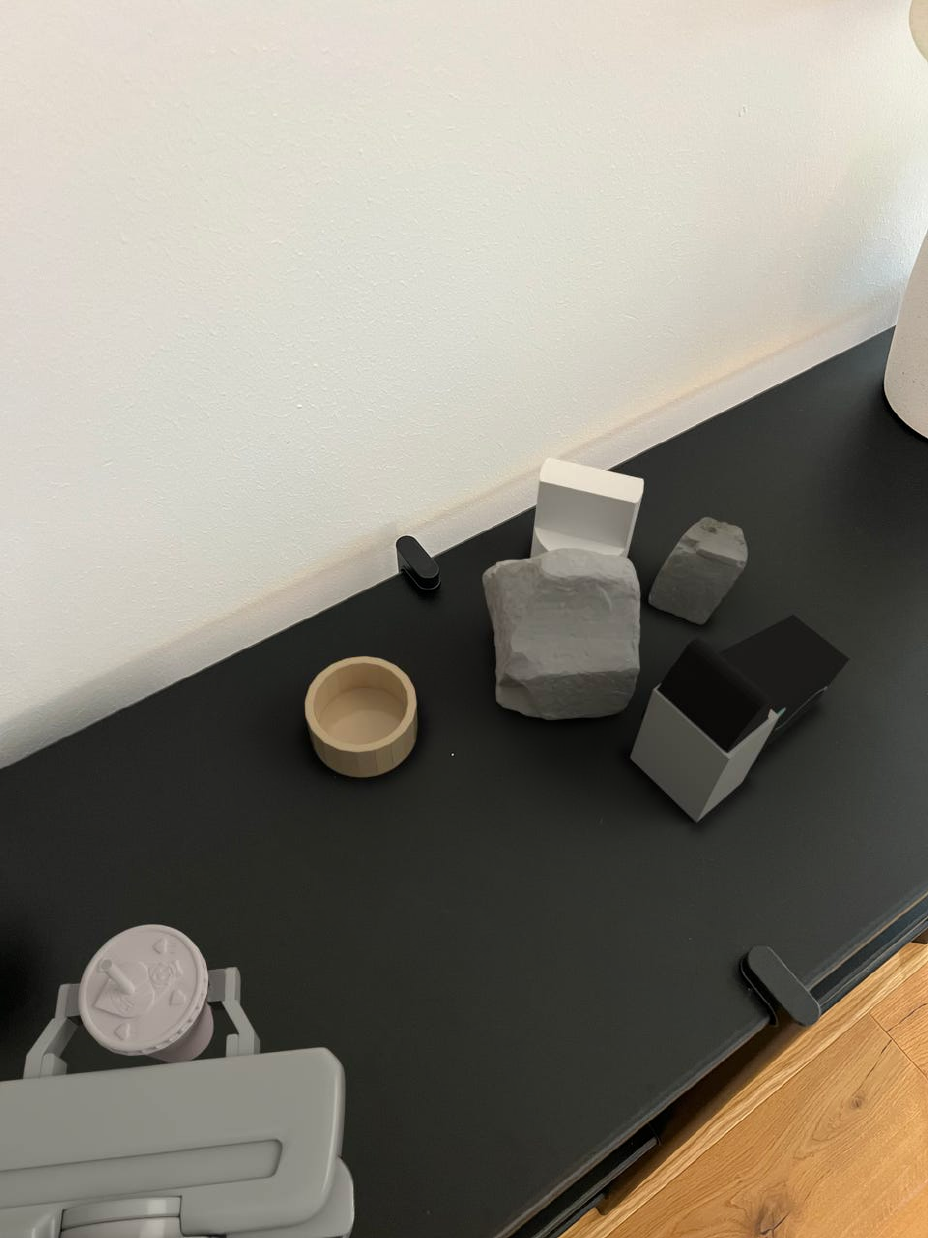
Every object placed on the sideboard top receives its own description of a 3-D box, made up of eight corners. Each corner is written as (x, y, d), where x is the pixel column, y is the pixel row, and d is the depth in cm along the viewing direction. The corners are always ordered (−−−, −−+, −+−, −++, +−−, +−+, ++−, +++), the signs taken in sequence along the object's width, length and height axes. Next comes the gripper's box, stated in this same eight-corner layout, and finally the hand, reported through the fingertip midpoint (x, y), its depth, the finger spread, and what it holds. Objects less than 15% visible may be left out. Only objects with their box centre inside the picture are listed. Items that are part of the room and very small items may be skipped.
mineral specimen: (741, 631, 87) (744, 575, 80) (647, 619, 90) (642, 564, 83) (752, 569, 91) (756, 511, 84) (661, 560, 94) (658, 503, 87)
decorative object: (835, 700, 83) (902, 596, 71) (696, 822, 76) (744, 731, 64) (763, 640, 87) (815, 532, 75) (624, 752, 80) (656, 653, 68)
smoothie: (114, 1005, 57) (34, 929, 46) (216, 956, 59) (164, 872, 48) (144, 1111, 54) (66, 1057, 43) (251, 1055, 56) (204, 990, 44)
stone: (494, 734, 81) (503, 632, 69) (479, 617, 88) (485, 506, 76) (628, 723, 82) (661, 621, 69) (603, 609, 89) (628, 498, 77)
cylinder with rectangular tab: (518, 591, 90) (527, 504, 80) (542, 523, 95) (553, 434, 85) (612, 614, 88) (632, 529, 79) (631, 544, 93) (652, 456, 84)
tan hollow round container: (298, 768, 79) (291, 742, 75) (326, 677, 84) (321, 649, 80) (405, 785, 78) (403, 760, 74) (426, 693, 83) (425, 665, 79)
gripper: (352, 1261, 41) (342, 940, 49) (-144, 1324, 39) (-70, 981, 47) (361, 1267, 46) (350, 975, 54) (-78, 1323, 44) (-21, 1013, 52)
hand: (151, 978), depth 51 cm, fingers closed on smoothie, 6 cm apart
